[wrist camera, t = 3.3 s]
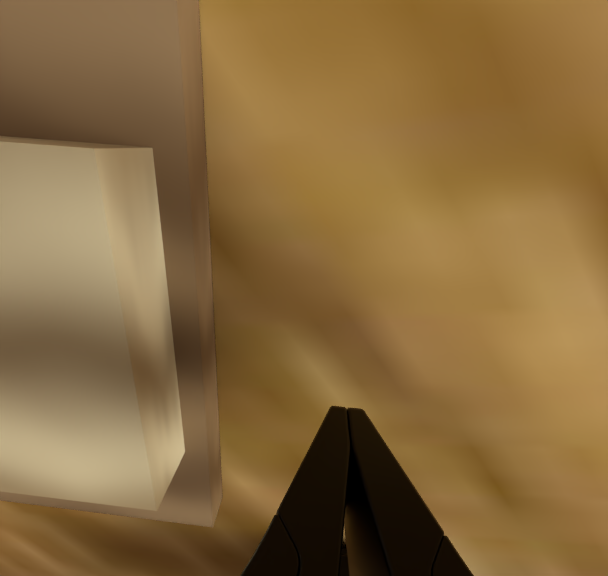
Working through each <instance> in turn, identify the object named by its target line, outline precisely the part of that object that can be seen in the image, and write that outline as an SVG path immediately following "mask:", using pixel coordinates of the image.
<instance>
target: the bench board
mask: <svg viewBox="0 0 608 576" xmlns="http://www.w3.org/2000/svg"><path fill="white" fill-rule="evenodd" d="M0 136H7V137H20V138H33V139H46V140H59V141H73V142H86V143H99V144H112V145H125V146H138V147H151V148H153V157H154V167H155V176H156V185H157V195H158V204H159V213H160V223H161V232H162V241H163V250H164V260H165V269H166V278H167V288H168V297H169V306H170V316H171V325H172V334H173V343H174V353H175V362H176V371H177V381H178V390H179V399H180V409H181V418H182V427H183V436H184V446H185V453H184V455H183V457H182V459H181V461H180V464H179V466H178V468H177V470H176V472H175V474H174V476H173V478H172V480H171V482H170V485H169V487H168V489H167V491H166V493H165V495H164V497H163V499H162V501H161V503H160V505H159V508H158V510H157V511H153V510H145V509H137V508H129V507H121V506H113V505H105V504H97V503H89V502H81V501H73V500H65V499H57V498H49V497H41V496H33V495H25V494H17V493H9V492H1V491H0V500H1V501H9V502H17V503H25V504H33V505H41V506H49V507H56V508H64V509H72V510H80V511H88V512H96V513H104V514H112V515H120V516H127V517H135V518H143V519H151V520H159V521H167V522H175V523H183V524H190V525H198V526H206V527H213V526H214V523H215V520H216V516H217V513H218V510H219V507H220V504H221V500H222V477H221V456H220V435H219V414H218V393H217V372H216V352H215V331H214V310H213V289H212V268H211V247H210V226H209V205H208V184H207V163H206V142H205V121H204V100H203V79H202V58H201V37H200V16H199V0H0Z"/></svg>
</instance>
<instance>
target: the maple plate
mask: <svg viewBox="0 0 608 576" xmlns="http://www.w3.org/2000/svg"><path fill="white" fill-rule="evenodd" d="M184 453H185V446H184V436H183V427H182V418H181V409H180V399H179V390H178V381H177V371H176V362H175V353H174V343H173V334H172V325H171V316H170V306H169V297H168V288H167V278H166V269H165V260H164V250H163V241H162V232H161V223H160V213H159V204H158V195H157V185H156V176H155V167H154V157H153V148H151V147H138V146H125V145H112V144H99V143H86V142H73V141H59V140H46V139H33V138H20V137H7V136H0V491H1V492H9V493H17V494H25V495H33V496H41V497H49V498H57V499H65V500H73V501H81V502H89V503H97V504H105V505H113V506H121V507H129V508H137V509H145V510H153V511H157V510H158V508H159V505H160V503H161V501H162V499H163V497H164V495H165V493H166V491H167V489H168V487H169V485H170V482H171V480H172V478H173V476H174V474H175V472H176V470H177V468H178V466H179V464H180V461H181V459H182V457H183V455H184Z"/></svg>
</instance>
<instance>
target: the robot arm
mask: <svg viewBox="0 0 608 576" xmlns="http://www.w3.org/2000/svg"><path fill="white" fill-rule="evenodd" d="M344 526H345V536H346V546H347V549H342V541H343V530H344ZM240 576H474V575H473V574H472V573H471V571H470V570H469V568H468V567H467V565H466V564H465V562H464V561H463V560H462V558H461V557H460V555H459V554H458V552H457V551H456V549H455V548H454V546H453V545H452V543H451V541H450V540H449V538H448V537H447V536H444V531H443V530H442V528H441V527H440V525H439V524H438V522H437V520H436V519H435V517H434V516H433V514H432V513H431V511H430V510H429V508H428V507H427V505H426V504H425V502H424V501H423V499H422V498H421V496H420V495H419V493H418V492H417V490H416V489H415V487H414V486H413V484H412V483H411V481H410V480H409V478H408V477H407V475H406V474H405V472H404V470H403V469H402V467H401V466H400V464H399V463H398V461H397V460H396V458H395V457H394V455H393V454H392V452H391V451H390V449H389V448H388V446H387V445H386V443H385V442H384V440H383V439H382V437H381V436H380V434H379V433H378V431H377V430H376V428H375V427H374V425H373V424H372V422H371V420H370V419H369V417H368V416H367V414H366V413H365V411H364V410H362V409H358V408H348V409H346V408H345V407H339V406H331V407H330V409H329V411H328V413H327V415H326V417H325V418H324V420H323V422H322V424H321V426H320V428H319V430H318V432H317V434H316V436H315V438H314V440H313V442H312V444H311V446H310V448H309V450H308V452H307V454H306V456H305V458H304V459H303V461H302V463H301V465H300V467H299V469H298V471H297V473H296V475H295V477H294V479H293V481H292V483H291V485H290V487H289V489H288V491H287V493H286V495H285V497H284V499H283V500H282V502H281V504H280V506H279V508H278V510H277V513H276V515H275V516H274V518H273V520H272V521H271V523H270V525H269V527H268V529H267V531H266V533H265V535H264V537H263V538H262V540H261V542H260V544H259V546H258V547H257V549H256V551H255V553H254V555H253V556H252V558H251V559H250V561H249V563H248V564H247V566H246V567H245V569H244V571H243V572H242V574H241V575H240Z"/></svg>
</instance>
